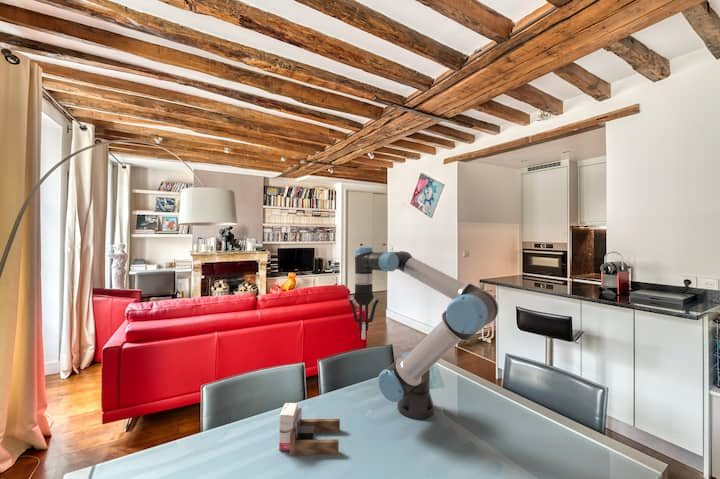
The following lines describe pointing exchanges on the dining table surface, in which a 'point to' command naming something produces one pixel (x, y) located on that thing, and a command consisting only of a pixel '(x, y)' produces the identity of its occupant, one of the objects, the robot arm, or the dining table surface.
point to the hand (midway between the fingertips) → (363, 338)
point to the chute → (316, 445)
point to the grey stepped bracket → (302, 428)
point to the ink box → (287, 424)
